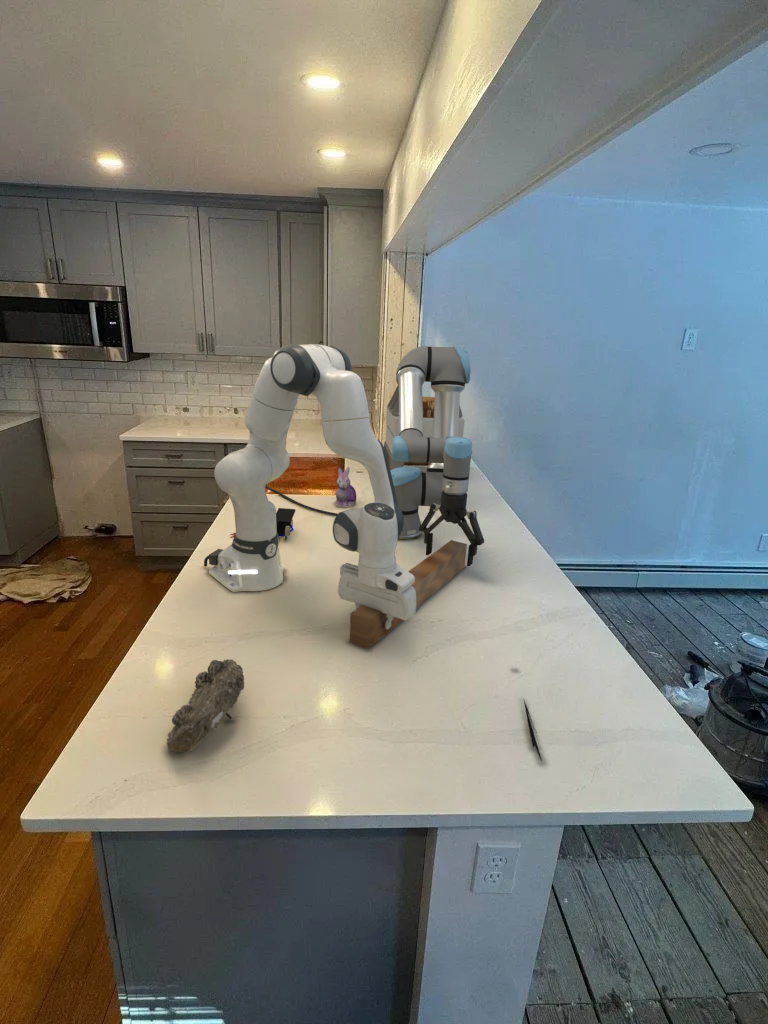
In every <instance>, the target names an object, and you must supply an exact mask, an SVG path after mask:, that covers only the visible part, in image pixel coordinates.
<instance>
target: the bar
mask: <svg viewBox="0 0 768 1024" xmlns="http://www.w3.org/2000/svg"><path fill="white" fill-rule="evenodd" d="M467 548H468V544H467V543H465V542H460V541H456V540H453V539H450V540H449V541H447V542H446V543H445V544H444V545H442V546H441V547H440V548H438V549H437V550H435V551H434V552H432V553H431V554H429V555H428V556H427V557H426V558H425V559H423V560H422V561H420V562H419V563H418V564H416V565H415V566H413V567H412V568H411V569H409V570H407V571H408V572H409V573H411V574H412V575H414V577H415V582H414V583H413V584H412V586H413V587H414V589H415V592H416V609H417V608H419V607H420V606H421V605H422V604H424V602H426V601H427V600H428V599H429V598H430V597H431V596H433V595H434V594H435V593H437V592H438V591H439V590H440V589H441V588H442V587H443V586H444V585H446V584H447V583H448V582H449V581H450V580H451V579H453V578H454V577H455V576H456V575H457V574H458V573H460V571H462V570H463V569H464V568H466V561H467V550H468V549H467ZM349 618H350V619H349V643H351V644H353V645H356V646H359V647H361V648H364V649H367V650H370V649H371V648H372V647H373V646H374V645H376V644H377V643H378V642H379V641H381V639H382V638H384V637H385V636H386V635H387V634H388V633H390V632H391V631H392V630H394V628H395V627H396V626H397V625H399V624H400V623H401V622H402V621H403V620H402V619H400V618H397V617H394V619H393V620H392V621H391V627H390V628H389V629H388V630H387V629H385V628H382V626H383V625H382V624H383V621H385V620H386V619H388V618H387V614H385V613H382V612H381V611H379V610H376V609H373V608H370V607H367V606H365V605H361V606H360V607H359V608H357V609H356V608H355V609H354V610H353V611H352V612H350V614H349Z"/></svg>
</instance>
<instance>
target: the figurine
mask: <svg viewBox="0 0 768 1024" xmlns="http://www.w3.org/2000/svg"><path fill="white" fill-rule="evenodd" d="M350 470H351V469H350V466H347V467H346V468H345V470H344V471H343V469H342V467H338V469H337V471H338V472H337V473H338V477H337V479H336V486H337V489H336V492H335V498H336V500H335V505H336V507H338V508H346V507H352V506H354V505H355V504H356V502H357V491H356V489H355V487H354V486H353V485H352V484H351V479H350V477H349V474H350Z"/></svg>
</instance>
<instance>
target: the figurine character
mask: <svg viewBox="0 0 768 1024" xmlns="http://www.w3.org/2000/svg"><path fill="white" fill-rule="evenodd" d="M295 513H296V508H285V507H278V508H277V509H276V531H277V533H278V537H279V538H280V537H281V538H284V541H287V540H288V537H290V536H291V533H292V532H294V530H295V529H294V526H293V525H294V519H293V518H294V516H295Z"/></svg>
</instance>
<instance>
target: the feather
mask: <svg viewBox="0 0 768 1024" xmlns="http://www.w3.org/2000/svg"><path fill="white" fill-rule="evenodd" d="M514 670H517V669H516V668H514ZM523 704H524V709H525V715H526V719H527V725H528V730H529V735H530V739H531V745H532V748H535V750H536V752H537V754H538V757H539V759H540V761H541V762H542V761H543V760H542V759H543V758H542V756H541V753H540V751H541V752H543V749H539V745H538V744H539V742H540V741H539V736H538V735H537V734H538V733H537V730H536V728H535V724H534V722H533V720H532V717H531V714H530V712H529V709H528V706H527V704H526V701H525V699H524V697H523ZM537 741H538V743H537ZM533 752H534V749H533Z"/></svg>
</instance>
